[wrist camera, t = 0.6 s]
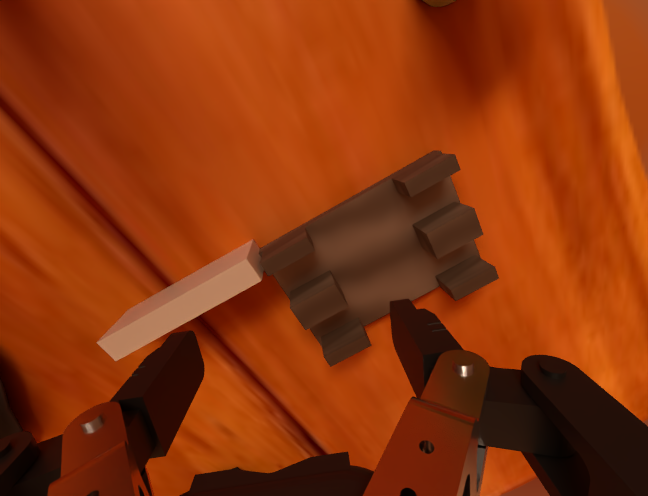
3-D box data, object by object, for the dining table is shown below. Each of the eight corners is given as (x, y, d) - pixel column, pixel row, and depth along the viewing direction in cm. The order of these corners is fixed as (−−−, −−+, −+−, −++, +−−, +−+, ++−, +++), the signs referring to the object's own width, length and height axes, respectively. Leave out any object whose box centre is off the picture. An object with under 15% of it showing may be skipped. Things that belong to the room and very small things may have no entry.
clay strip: (128, 308, 33) (96, 342, 27) (253, 238, 32) (246, 258, 26) (144, 325, 34) (115, 361, 28) (266, 257, 33) (261, 280, 27)
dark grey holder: (259, 248, 32) (255, 266, 28) (433, 150, 31) (460, 151, 26) (321, 340, 37) (326, 368, 32) (474, 258, 36) (503, 275, 31)
